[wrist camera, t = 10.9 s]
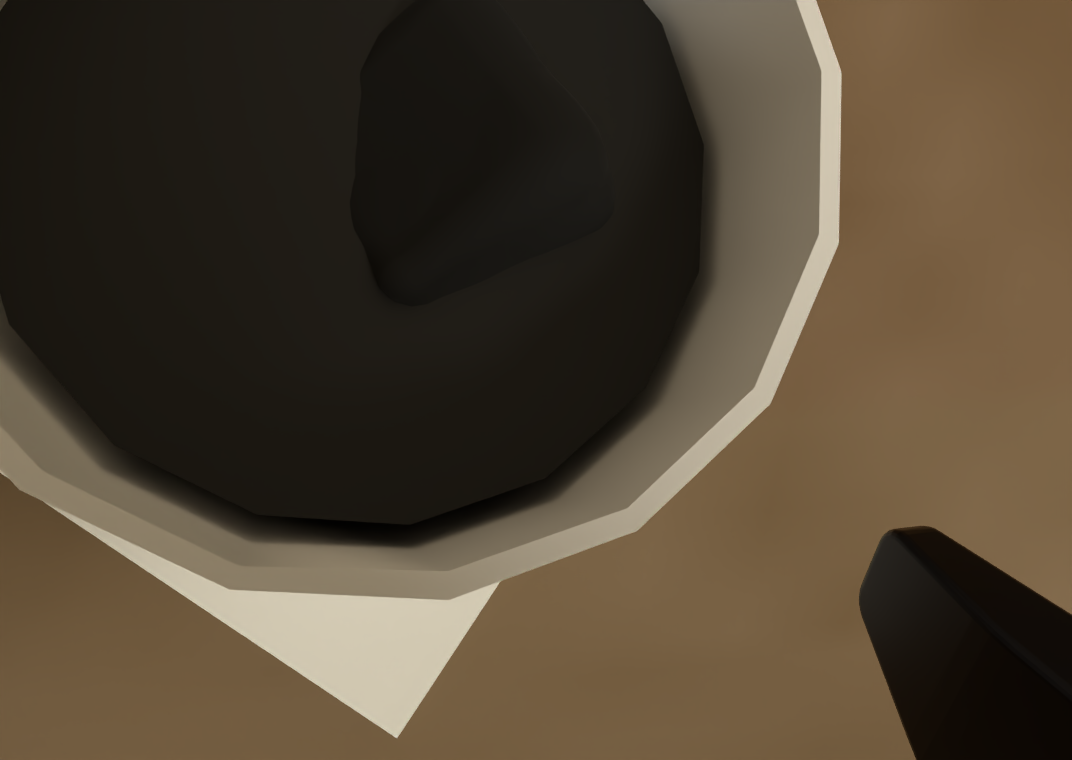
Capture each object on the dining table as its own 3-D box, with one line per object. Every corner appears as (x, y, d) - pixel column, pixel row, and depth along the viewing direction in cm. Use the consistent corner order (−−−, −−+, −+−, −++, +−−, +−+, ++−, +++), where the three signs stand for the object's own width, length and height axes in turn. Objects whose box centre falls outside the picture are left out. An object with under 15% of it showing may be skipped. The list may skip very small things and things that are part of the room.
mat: (392, 732, 16) (396, 738, 16) (-105, 398, 15) (-117, 394, 15) (685, 289, 18) (695, 283, 18) (269, -28, 17) (268, -44, 17)
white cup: (403, 79, 17) (564, -484, 8) (597, 427, 17) (1002, 301, 8) (13, 252, 15) (-424, -205, 6) (230, 641, 15) (153, 834, 6)
